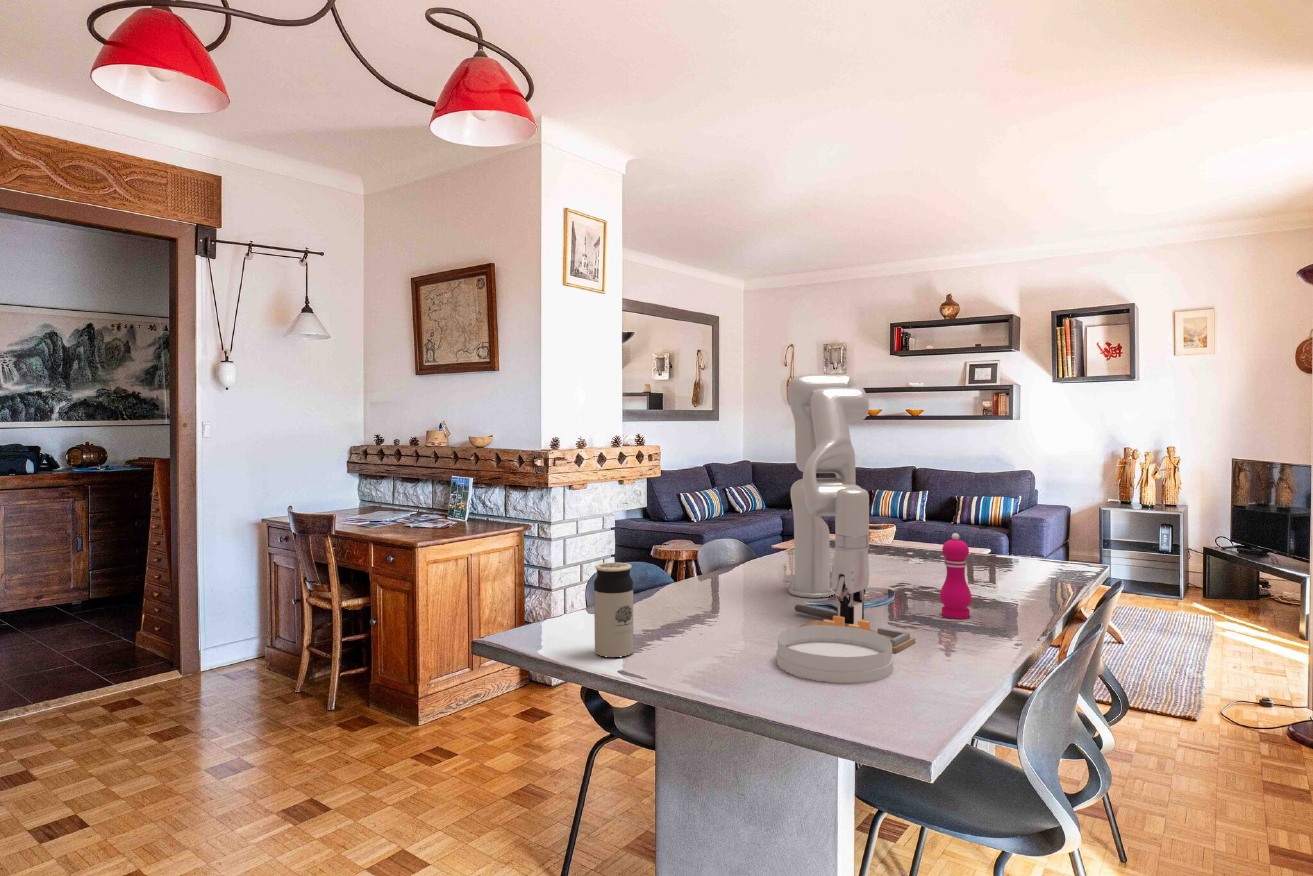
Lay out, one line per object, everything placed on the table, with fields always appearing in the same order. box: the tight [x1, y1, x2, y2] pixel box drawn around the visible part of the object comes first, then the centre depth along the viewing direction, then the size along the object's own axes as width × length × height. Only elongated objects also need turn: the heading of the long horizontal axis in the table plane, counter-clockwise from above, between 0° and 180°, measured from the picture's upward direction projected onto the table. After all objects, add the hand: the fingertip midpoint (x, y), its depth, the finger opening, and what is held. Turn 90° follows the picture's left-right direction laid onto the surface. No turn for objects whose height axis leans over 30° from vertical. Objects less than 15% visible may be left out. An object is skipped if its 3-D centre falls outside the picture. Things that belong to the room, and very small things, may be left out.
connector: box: [793, 601, 862, 626], centre depth 182 cm, size 17×4×5 cm, turn 47°
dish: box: [776, 625, 894, 684], centre depth 149 cm, size 22×22×5 cm
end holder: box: [877, 627, 911, 646], centre depth 162 cm, size 7×8×1 cm
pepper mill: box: [939, 533, 973, 620], centre depth 185 cm, size 7×7×20 cm
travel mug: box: [593, 562, 635, 657], centre depth 157 cm, size 8×8×18 cm
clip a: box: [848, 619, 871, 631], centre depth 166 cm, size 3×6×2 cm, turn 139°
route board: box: [794, 619, 916, 654], centre depth 167 cm, size 24×10×1 cm, turn 49°
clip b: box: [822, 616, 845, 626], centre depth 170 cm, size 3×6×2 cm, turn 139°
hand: (851, 620), depth 177 cm, fingers closed on connector, 4 cm apart
